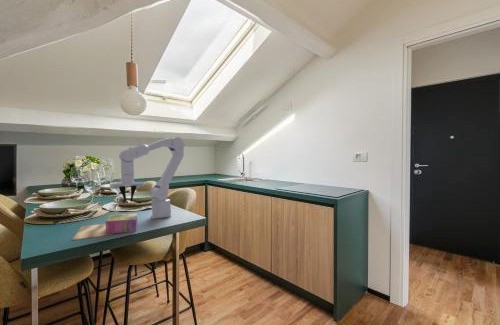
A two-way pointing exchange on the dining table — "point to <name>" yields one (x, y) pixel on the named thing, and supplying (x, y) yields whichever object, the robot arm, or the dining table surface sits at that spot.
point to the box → (121, 223)
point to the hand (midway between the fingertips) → (128, 201)
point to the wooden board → (91, 232)
